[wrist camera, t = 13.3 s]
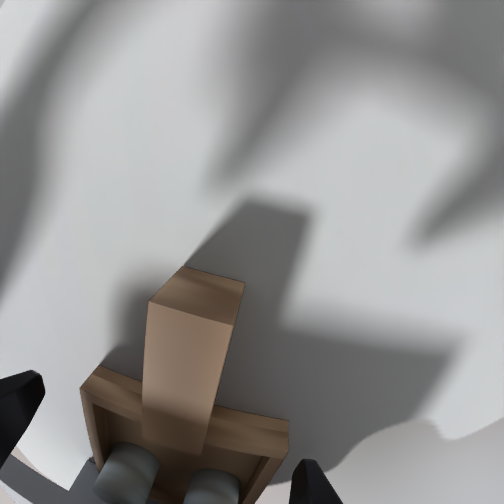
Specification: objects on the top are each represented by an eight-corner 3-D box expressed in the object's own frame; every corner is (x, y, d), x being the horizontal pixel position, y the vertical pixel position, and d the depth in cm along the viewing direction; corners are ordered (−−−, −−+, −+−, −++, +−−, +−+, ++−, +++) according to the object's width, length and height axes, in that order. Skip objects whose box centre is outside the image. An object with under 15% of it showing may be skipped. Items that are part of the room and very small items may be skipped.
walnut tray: (110, 460, 19) (87, 504, 14) (100, 242, 14) (27, 278, 8) (243, 499, 19) (236, 550, 14) (338, 306, 14) (367, 378, 8)
